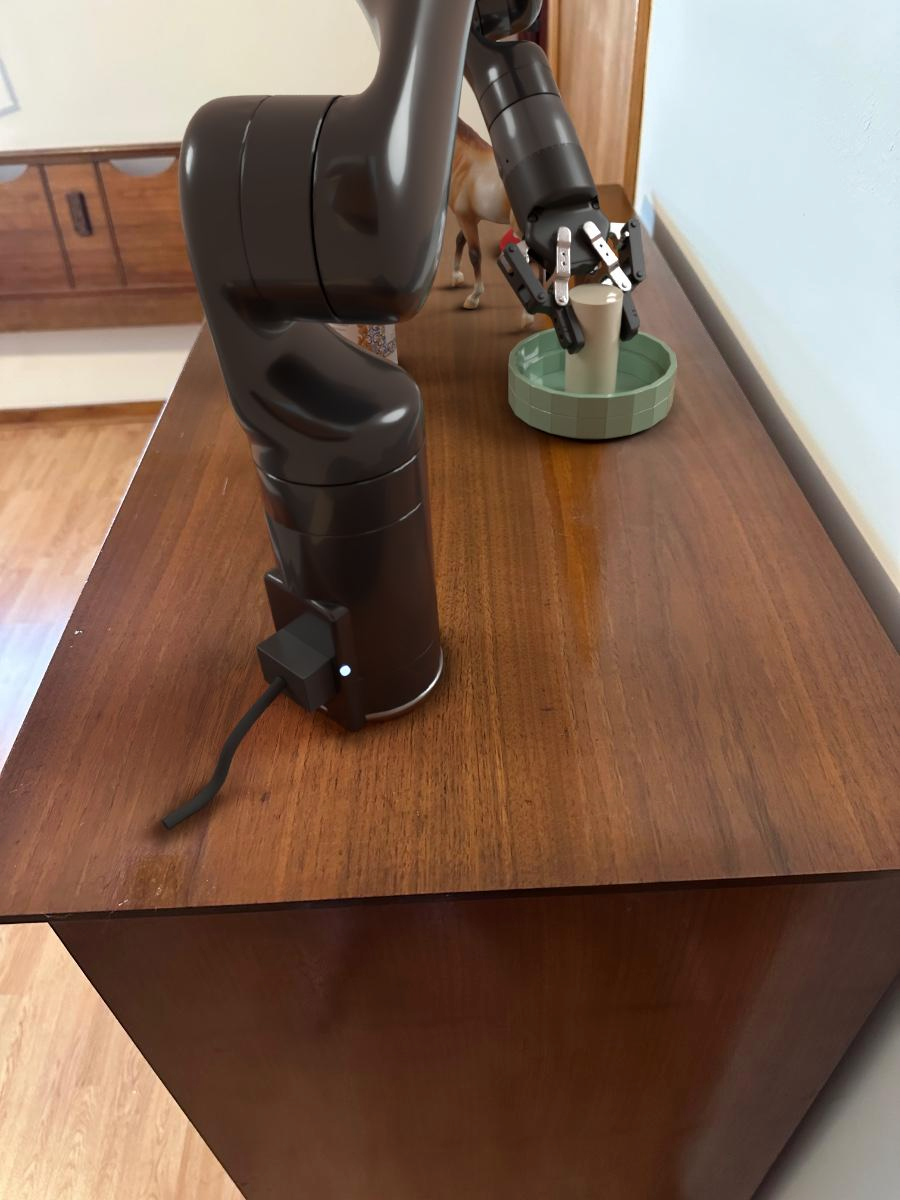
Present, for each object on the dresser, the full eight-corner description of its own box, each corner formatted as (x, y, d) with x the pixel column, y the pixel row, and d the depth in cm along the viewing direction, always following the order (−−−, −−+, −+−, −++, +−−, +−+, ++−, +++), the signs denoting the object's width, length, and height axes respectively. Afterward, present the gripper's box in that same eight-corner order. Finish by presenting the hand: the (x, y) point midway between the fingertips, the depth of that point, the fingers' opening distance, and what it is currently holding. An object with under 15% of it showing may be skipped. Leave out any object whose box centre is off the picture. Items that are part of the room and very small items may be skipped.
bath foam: (317, 379, 90) (285, 168, 78) (355, 352, 95) (331, 149, 82) (374, 392, 88) (351, 176, 75) (410, 364, 92) (394, 155, 79)
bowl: (610, 461, 76) (614, 415, 73) (476, 409, 84) (475, 365, 81) (701, 395, 84) (708, 350, 82) (571, 353, 92) (573, 311, 90)
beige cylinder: (595, 414, 81) (602, 308, 75) (553, 399, 84) (557, 296, 78) (624, 394, 84) (634, 291, 78) (583, 380, 87) (589, 279, 80)
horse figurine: (400, 289, 108) (386, 98, 95) (449, 273, 112) (442, 86, 98) (585, 371, 89) (599, 146, 76) (637, 348, 93) (660, 130, 79)
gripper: (482, 153, 74) (548, 344, 73) (629, 128, 78) (693, 309, 77) (458, 203, 81) (518, 378, 80) (594, 178, 85) (652, 344, 84)
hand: (604, 343), depth 79 cm, fingers closed on beige cylinder, 5 cm apart
